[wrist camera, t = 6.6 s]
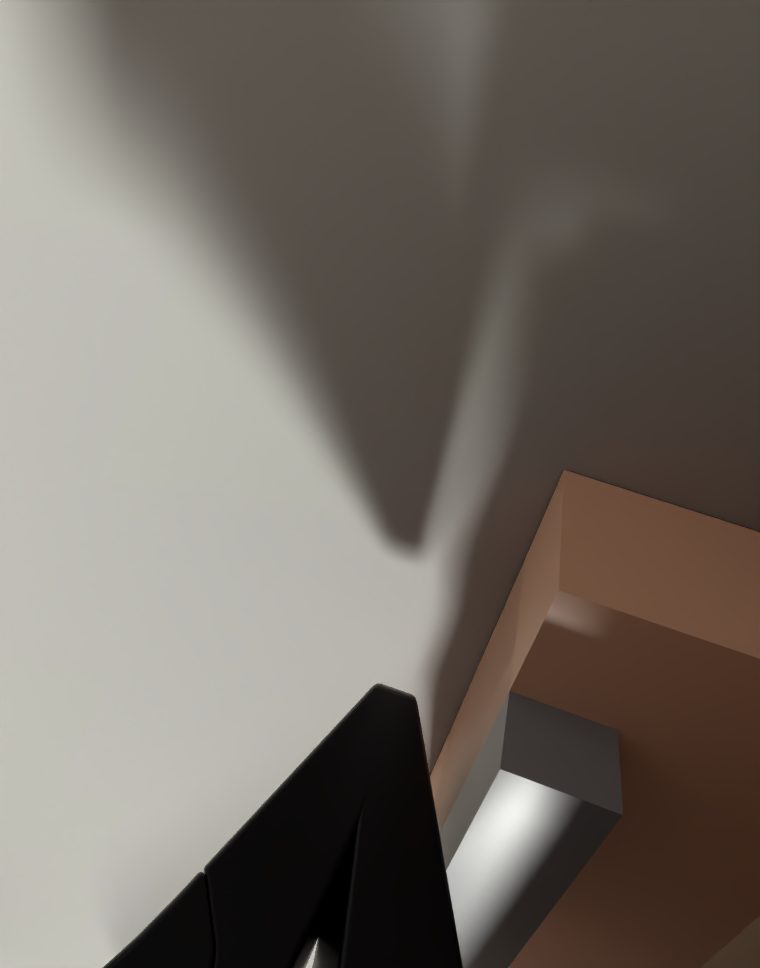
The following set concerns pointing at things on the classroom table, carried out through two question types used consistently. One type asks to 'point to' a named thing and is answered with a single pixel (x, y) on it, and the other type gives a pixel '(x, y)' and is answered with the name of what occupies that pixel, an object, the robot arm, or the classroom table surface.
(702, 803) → the pink slab with nub
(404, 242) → the classroom table surface
